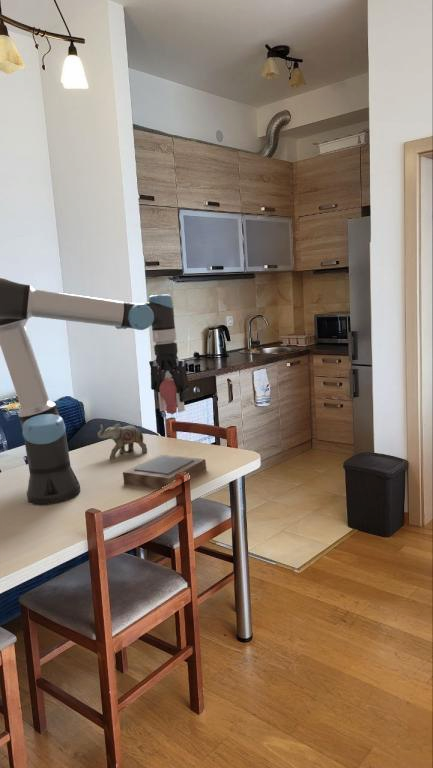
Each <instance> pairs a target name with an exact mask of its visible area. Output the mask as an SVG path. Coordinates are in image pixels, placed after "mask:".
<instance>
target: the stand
mask: <svg viewBox="0 0 433 768" xmlns="http://www.w3.org/2000/svg"><path fill="white" fill-rule="evenodd" d="M206 471H207V463H206V459H205V458H197V457H189V456H179V455H168V454H158V455H155V456H154V457H152V458H150V459H148V460H146V461H144V462H141V463H139V464H137V465H135V466H132V467H131V468H129V469H126V470H124V471H123V472H122V478H123V483H124V484H126V485H132V486H137V487H138V486H139V487H146V488H152V489H160V488H162V487H164V486H166V485H168V484H170V483H172V482H173V481H174V480H175V474H176V473H179V472H186V473H189V475H190V480H192V479H193V477H194V478H195V477H198V476H199V475H200V474H202V473H204V472H206ZM191 478H192V479H191ZM160 490H161V489H160Z"/></svg>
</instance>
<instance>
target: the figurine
mask: <svg viewBox="0 0 433 768" xmlns="http://www.w3.org/2000/svg"><path fill="white" fill-rule="evenodd" d="M99 427H100V430H99V431H98V432H97V437H98V438H99V439H110V440H112V441H114V443H115V445H114V447H113V448H112V449H111V453H110V455H109V460H114V459H116V454H117V452H118V451H119V452H118V453H119V454H126V453H130V452H132V451H134V450H135V447H134V443H135V444H138V446H139V447H140V448H141V453H143V454H144V453H147V452H148V447H147V444H146V443H145V442H144V435H143V432H142V431H141V430H139V429H138V428H136V426H134V425H126V426H122V425H121V424H120V423H116V424H114V425H113V426H109V427H107V428H106V429H105V430H104V426H103V424H102V423H101V424H100V425H99ZM125 446H127V447H128V450H126V447H125Z"/></svg>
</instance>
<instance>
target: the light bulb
mask: <svg viewBox="0 0 433 768" xmlns="http://www.w3.org/2000/svg"><path fill="white" fill-rule="evenodd" d="M159 391H160V394H161V396H162V398H163V399H164V400H165V402H166V406H167V407H166V408H167V409H166V410H165V411H166V413H167V414H170V415H174V414H176V413H178V407H177V397H176V393H177V392H178V390H177V388H176V385H175V383H174V380H173V378H165V380H164V381H163V382H162V383H161V384H160V388H159Z"/></svg>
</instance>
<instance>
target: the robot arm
mask: <svg viewBox="0 0 433 768" xmlns="http://www.w3.org/2000/svg"><path fill="white" fill-rule="evenodd" d="M174 309H175V308H174V305H173V298H172V296H171V294H168V293H167V294H156V295H150V296H148V302H147V301H146V302H140V303H136V302H127V301H121V300H114V299H108V298H107V299H106V298H99V297H91V296H84V295H78V294H71V293H70V294H68V293H62V292H57V291H48V290H47V291H46V290H42V289H41V290H40V289H35V288H33V286H32V285H30V284H24V283H18V282H14V281H11V280H10V279H6V278H1V277H0V349H1V353H2V355H3V357H4V362H5V364H6V367H7V369H8V372H9V376H10V379H11V382H12V384H13V385H12V386H13V388H14V390H15V394H16V396H17V400H18V402H19V403H18V404H19V406H20V408H21V409H20V410H19V412H18V414H17V417H18V418H19V421H20V425H21V428H22V433H21V434H22V437H23V440H24V447H25V452H26V453H25V454H26V459H27V464H28V465H27V466H28V471H29V479H28V485H27V486H28V487H27V491H26V499H27V503H29V504H31V505H35V506H49V505H54V504H58V503H62V502H66V501H69V500H71V499H74V498H75V497H77V496H78V495H79V494H80V493H81V487H80V482H79V480H78V478H77V476H76V474H75V472H74V471H73V469H72V466H71V458H70V453H69V446H68V440H67V439H68V438H67V432H66V428H67V427H66V425H65V421H64V419H63V417H62V416H60V413H59V410H58V408H57V404H56V403H55V402H54V401H52V400H50V399H49V395H48V393H47V390H46V386H45V383H44V380H43V377H42V373H41V370H40V367H39V364H38V362H37V358H36V355H35V352H34V349H33V346H32V343H31V340H30V337H29V334H28V330H27V327H26V324H27V323H28V321H29V319H30V318H32V317H35V318H42V319H50V320H59V321H68V322H77V323H85V324H93V325H100V326H102V325H103V326H111V327H114V328H116V329H117V330H123V329H124V330H126V329H135V330H137V331H143V330H146V329H148V328H150V327H151V330H152V331H151V332H152V341H153V343H155V344H154V345H153V348H154V349H153V351H154V355H155V356H156V357H155V359H153V360H150V361H149V362H148V363H149V367H150V390H152V391H155V392H156V399H157V401H158V403H159V404H158V405H159V412H164V411H166V409H167V408H166V407H167V406H166V402H165V400H164V399H163V398H162V396H161V394H160V391H159V388H160V384H161V383H162V382H163V381H164V380H166V374H167V372H168V373H169V374H170V376H171V377H172V378H171V379H173V380H174V383H175V385H176V388H177V390H178V392H177V393H176V397H177V413H182V412H184V411H186V409H185V402H186V394H185V393H186V391H188V390H189V389H190V384H189V377H188V373H187V369H186V365H187V364H186V363H187V361H186V359H179V356H178V344H177V333H176V325H175V324H176V323H175V315H174V314H175V313H174Z"/></svg>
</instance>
